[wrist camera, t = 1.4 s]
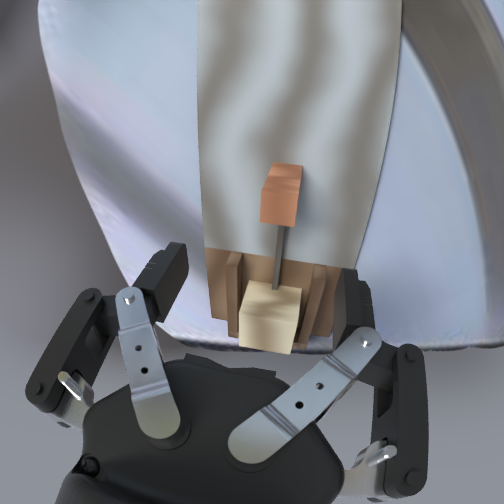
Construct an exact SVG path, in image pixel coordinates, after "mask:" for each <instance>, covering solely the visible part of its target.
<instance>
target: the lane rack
mask: <svg viewBox="0 0 504 504" xmlns="http://www.w3.org/2000/svg"><path fill="white" fill-rule="evenodd" d="M401 7H402V0H198V27H197V108H198V142H199V165H200V184H201V201H202V216H203V230H204V242H205V254H206V266H207V276H208V287H209V296H210V306H211V315H212V318H216V319H221V320H226V321H228V336H229V337H234V338H239V311H240V308H241V305H242V302H243V298H244V295H245V292H246V289H247V286H248V282H249V280H251V281H257V282H263V283H269V284H272V281H273V272H274V262H275V252H276V243H277V232H278V225H276V224H269V223H261V222H260V206H261V190H262V188H263V186H264V183H265V181H266V179H267V176H268V174H269V171H270V169H271V167H272V164H273V162H277V163H285V164H293V165H301V166H303V167H302V176H301V184H300V192H299V199H298V206H297V213H296V220H295V226H294V227H290V226H285V230H284V239H283V248H282V256H281V264H280V272H279V280H278V285H282V286H289V287H295V288H302V291H301V300H300V309H299V317H298V324H297V328H296V332H295V336H294V340H293V344H292V348H298V349H306V346H307V343H308V340H309V337H310V335H316V336H323V337H329V336H330V333H331V331H332V328H333V299H334V292H335V288H336V285H337V282H338V279H339V275H340V272H341V269H342V268H349V269H354V266H355V263H356V260H357V257H358V254H359V250H360V247H361V244H362V240H363V237H364V233H365V230H366V226H367V223H368V219H369V215H370V212H371V208H372V204H373V200H374V196H375V192H376V188H377V184H378V180H379V175H380V171H381V166H382V162H383V157H384V152H385V147H386V142H387V137H388V131H389V126H390V120H391V114H392V107H393V101H394V93H395V86H396V78H397V69H398V59H399V47H400V33H401Z"/></svg>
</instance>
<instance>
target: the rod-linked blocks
mask: <svg viewBox="0 0 504 504" xmlns="http://www.w3.org/2000/svg"><path fill="white" fill-rule="evenodd" d="M302 167H303V166H301V165H293V164H285V163H277V162H273V164H272V167H271V169H270V171H269V174H268V176H267V179H266V181H265V183H264V186H263V188H262V190H261V206H260V222H261V223H269V224H276V225H278V232H277V243H276V252H275V262H274V272H273V281H272V284H269V283H263V282H257V281H251V280H249V282H248V286H247V289H246V292H245V295H244V298H243V302H242V305H241V308H240V311H239V346H244V347H249V348H254V349H260V350H266V351H272V352H278V353H284V354H290V352H291V348H292V344H293V340H294V336H295V332H296V328H297V324H298V317H299V309H300V300H301V291H302V288H295V287H289V286H282V285H278V280H279V272H280V264H281V256H282V248H283V239H284V230H285V226H290V227H294V226H295V220H296V213H297V206H298V199H299V192H300V184H301V176H302Z"/></svg>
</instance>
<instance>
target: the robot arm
mask: <svg viewBox="0 0 504 504" xmlns="http://www.w3.org/2000/svg"><path fill="white" fill-rule="evenodd" d="M188 272H189V264H188V257H187V249H186V245H185V244H184V243H177V242H170V243H169V245H168V246H167V248H166V249H165V250H160V251H158V252H157V253H156V254H154V255H153V256H152V258H151V259H150V261H149V263H147V265H146V266H145V268H144V269H143V271H142V272H141V274H140V275H139V276H138V278H137V279H136V281H135V282H134V284H133V285H132V287H127V288H124V289H122V290H121V291H120V292H118V294H117V295H115V296H114V295H113V296H102V294H101V292H100V290H98V289H96V288H90V289H86V290H85V291H83V292H82V293H81V294H80V295H79V296H78V298H77V299H76V301H75V303H74V304H73V305H72V307H71V308H70V310H69V311H68V313H67V315H66V316H65V318H64V319H63V321H62V323H61V324H60V326H59V327H58V329H57V331H56V333H55V334H54V336H53V337H52V339H51V341H50V343H49V344H48V346H47V348H46V350H45V351H44V353H43V355H42V356H41V358H40V360H39V362H38V364H37V366H36V368H35V369H34V371H33V373H32V375H31V377H30V379H29V381H28V383H27V385H26V389H25V394H26V397H27V399H28V400H29V401H30V402H31V403H32V404H33V405H35V406H36V407H37V408H38V409H39V410H40V411H41V412H42V413H43V414H45V415H46V416H47V417H49V418H50V419H52V420H53V421H55V422H57V423H58V424H60V425H61V426H63V427H66V428H69V427H73V428H75V429H77V430H79V431H81V432H83V450H82V455H81V458H80V460H79V461H78V463H77V464H76V465H75V467H74V468H73V469H72V470H71V471H70V472H69V473H68V475H67V476H66V477H65V479H64V481H63V483H62V486H61V488H60V491H59V494H58V497H57V499H56V502H55V504H331V503H332V502H333V501H334V500H335V498H336V497H345V498H367V499H368V500H369V501H372V502H383V501H388V500H393V499H399V498H403V497H408V496H412V495H415V494H417V493H418V492H419V491H421V489H422V488H423V487H424V485H425V483H426V480H427V469H428V439H429V437H428V436H429V435H428V434H429V432H428V431H429V430H428V399H427V386H426V385H427V384H426V373H425V364H424V356H423V353H422V351H421V350H420V349H419V348H418V347H417V346H415V345H413V344H403V345H401V346H400V347H399V348H397V347H394V346H392V345H389V344H387V343H385V342H384V341H382V339H381V336H380V335H379V333H378V332H377V331H376V330H375V322H374V314H373V306H372V299H371V292H370V288H369V287H368V285H367V283H366V282H365V281H360V280H358V273H357V270H355V269H349V268H342V269H341V272H340V275H339V279H338V282H337V285H336V288H335V292H334V299H333V353H332V354H331V355H330V356H328V355H327V356H325V357H324V358H322V359H321V360H320V361H319V362H318V363H317V364H316V365H315V366H314V367H313V368H312V369H311V370H309V371H308V372H307V373H306V374H305V375H304V376H303V377H302V378H301V379H300V380H298V381H297V382H296V383H295V384H294V385H292V386H291V387H290V386H289V385H288V384H286V383H285V382H284V381H282V380H280V379H277V378H275V375H276V371H270V370H264V369H258V368H227V367H225V366H222V365H220V364H218V363H216V362H214V361H212V360H210V359H208V358H204V357H200V356H196V355H192V354H188V353H186V355H185V358H184V359H177V360H172V361H169V362H166V363H165V361H164V358H163V355H162V352H161V349H160V346H159V343H158V339H157V336H156V333H155V329H154V324H155V322H156V321H157V322H161V323H164V321H165V319H166V317H167V315H168V313H169V311H170V309H171V307H172V305H173V303H174V301H175V299H176V297H177V295H178V293H179V291H180V290H181V288H182V286H183V284H184V282H185V280H186V278H187V276H188ZM116 336H119V340H120V345H121V350H122V355H123V359H124V364H125V368H126V373H127V377H128V380H129V384H128V385H126V386H124V387H122V388H121V389H119V390H117V391H115V392H114V393H112V394H110V395H108V396H107V397H105V398H103V399H101V400H99V401H98V402H96V403H94V402H93V399H94V391H93V389H92V385H93V383H94V381H95V379H96V376H97V374H98V372H99V370H100V368H101V366H102V364H103V361H104V359H105V357H106V355H107V353H108V351H109V349H110V347H111V345H112V343H113V341H114V339H115V337H116ZM357 380H359V381H361V382H364V383H366V384H369V385H372V386H374V403H373V404H374V405H373V421H372V432H371V443H370V446H368V447H367V448H365V449H363V450H362V451H360V453H359V454H358V455H357V457H356V460H355V463H354V465H353V466H352V467H351V468H350V469H349V470H344V468H343V465H342V462H341V461H340V459H339V458H338V456H337V455H336V453H335V452H334V450H333V449H332V447H331V446H330V444H329V443H328V441H327V440H326V438H325V437H324V435H323V434H322V432H321V430H320V429H319V427H318V426H317V423H318V422H319V421H320V420H321V419H322V418H323V417H324V416H325V415H326V414H327V413H328V412H329V411H330V410H331V409H332V408H333V407H334V406H335V404H336V403H337V402H338V401H339V400H340V399H341V398H342V397H343V396H344V395H345V393H346V392H347V391H348V390H349V389H350V388H351V387H352V386H353V385H354V384H355V382H356V381H357Z"/></svg>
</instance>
